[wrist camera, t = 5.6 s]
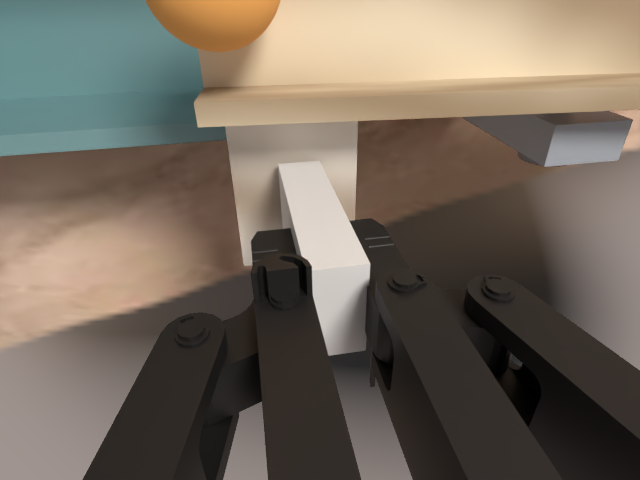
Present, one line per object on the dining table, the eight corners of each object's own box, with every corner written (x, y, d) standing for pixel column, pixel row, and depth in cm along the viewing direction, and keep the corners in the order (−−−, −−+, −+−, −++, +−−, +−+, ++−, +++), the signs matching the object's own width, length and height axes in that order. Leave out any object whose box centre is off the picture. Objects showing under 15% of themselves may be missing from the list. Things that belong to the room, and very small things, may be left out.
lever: (173, -201, 12) (123, -286, 8) (1055, -194, 13) (1358, -261, 10) (235, 240, 19) (225, 304, 15) (796, 208, 21) (910, 259, 17)
